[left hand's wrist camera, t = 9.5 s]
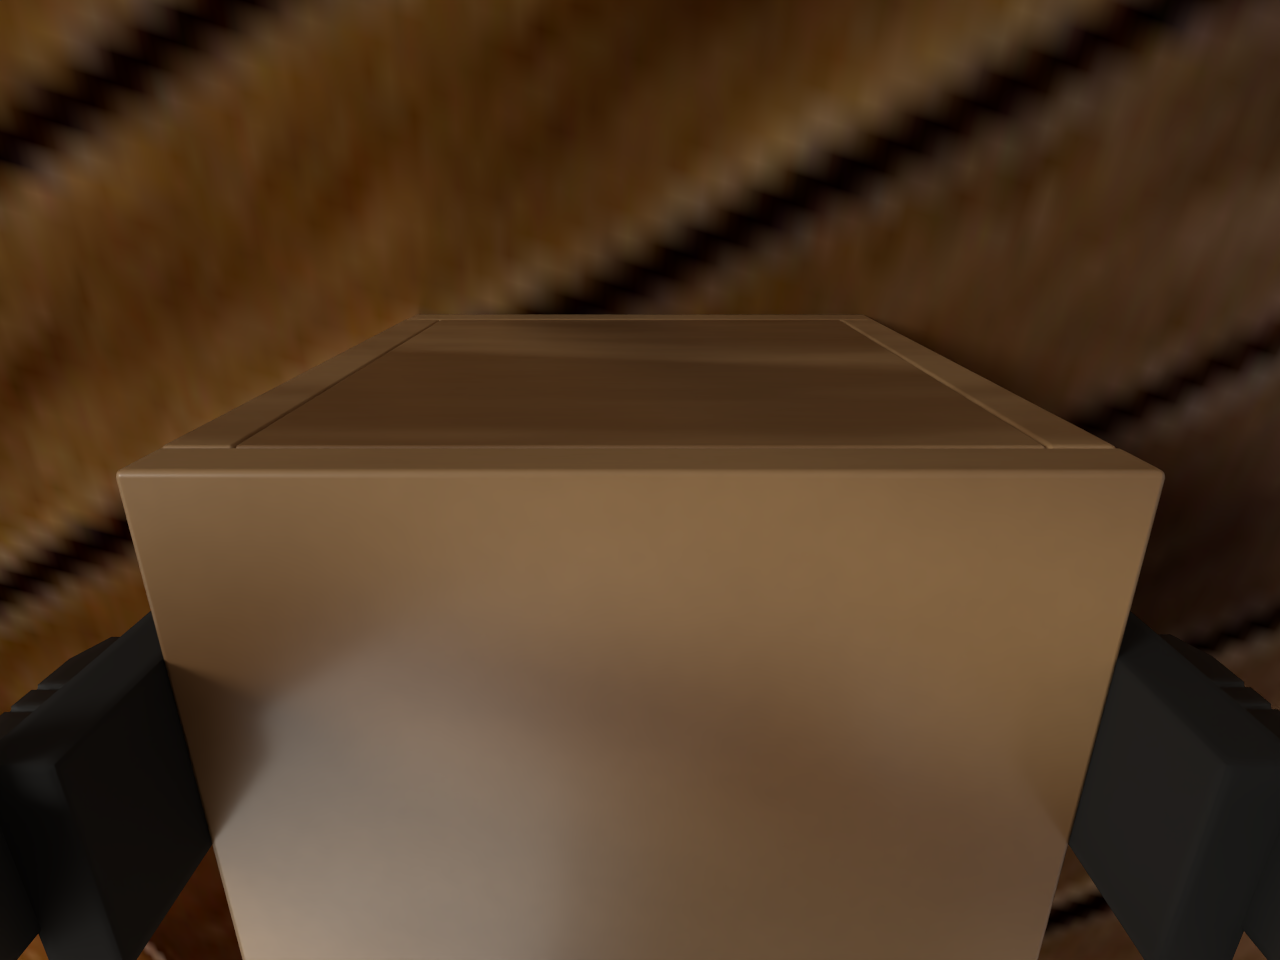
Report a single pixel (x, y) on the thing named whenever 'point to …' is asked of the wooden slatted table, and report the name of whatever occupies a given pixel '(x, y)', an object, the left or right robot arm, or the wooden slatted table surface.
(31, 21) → the wooden slatted table surface
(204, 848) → the left robot arm
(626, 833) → the cabinet
